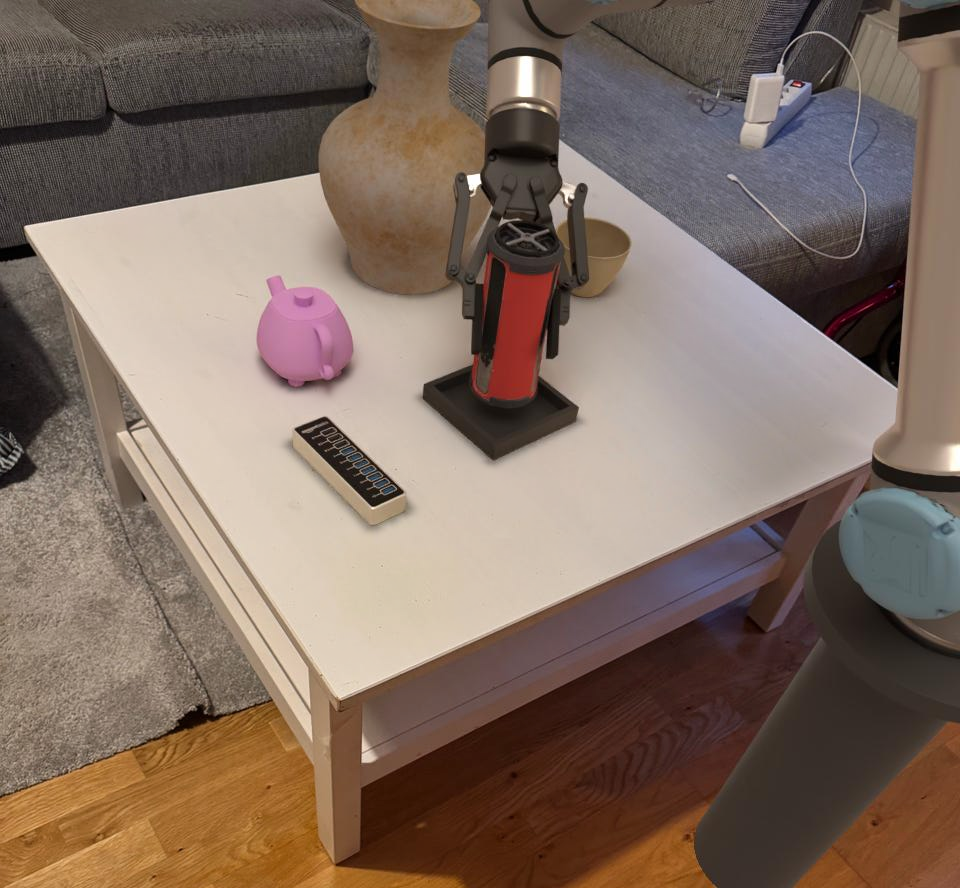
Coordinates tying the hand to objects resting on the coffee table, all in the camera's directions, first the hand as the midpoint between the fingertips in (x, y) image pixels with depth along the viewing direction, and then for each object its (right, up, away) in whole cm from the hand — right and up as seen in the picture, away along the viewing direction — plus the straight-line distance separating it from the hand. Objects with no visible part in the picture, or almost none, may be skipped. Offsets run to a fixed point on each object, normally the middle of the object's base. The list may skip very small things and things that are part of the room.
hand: (514, 354), depth 95 cm
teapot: (-24, +3, +11) cm, 27 cm away
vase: (-14, +20, +27) cm, 36 cm away
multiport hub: (-17, -13, 0) cm, 22 cm away
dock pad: (-1, -3, +10) cm, 10 cm away
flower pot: (+10, +18, +28) cm, 35 cm away
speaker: (-1, -2, +8) cm, 8 cm away
